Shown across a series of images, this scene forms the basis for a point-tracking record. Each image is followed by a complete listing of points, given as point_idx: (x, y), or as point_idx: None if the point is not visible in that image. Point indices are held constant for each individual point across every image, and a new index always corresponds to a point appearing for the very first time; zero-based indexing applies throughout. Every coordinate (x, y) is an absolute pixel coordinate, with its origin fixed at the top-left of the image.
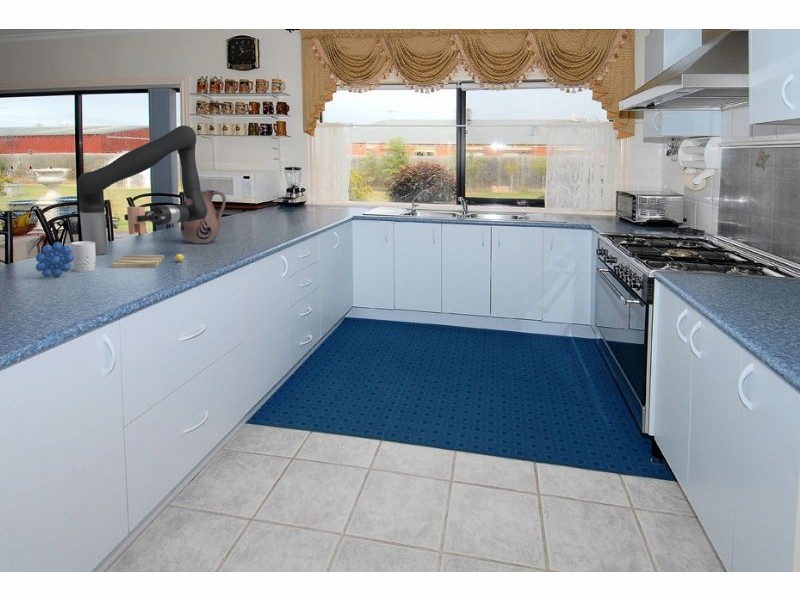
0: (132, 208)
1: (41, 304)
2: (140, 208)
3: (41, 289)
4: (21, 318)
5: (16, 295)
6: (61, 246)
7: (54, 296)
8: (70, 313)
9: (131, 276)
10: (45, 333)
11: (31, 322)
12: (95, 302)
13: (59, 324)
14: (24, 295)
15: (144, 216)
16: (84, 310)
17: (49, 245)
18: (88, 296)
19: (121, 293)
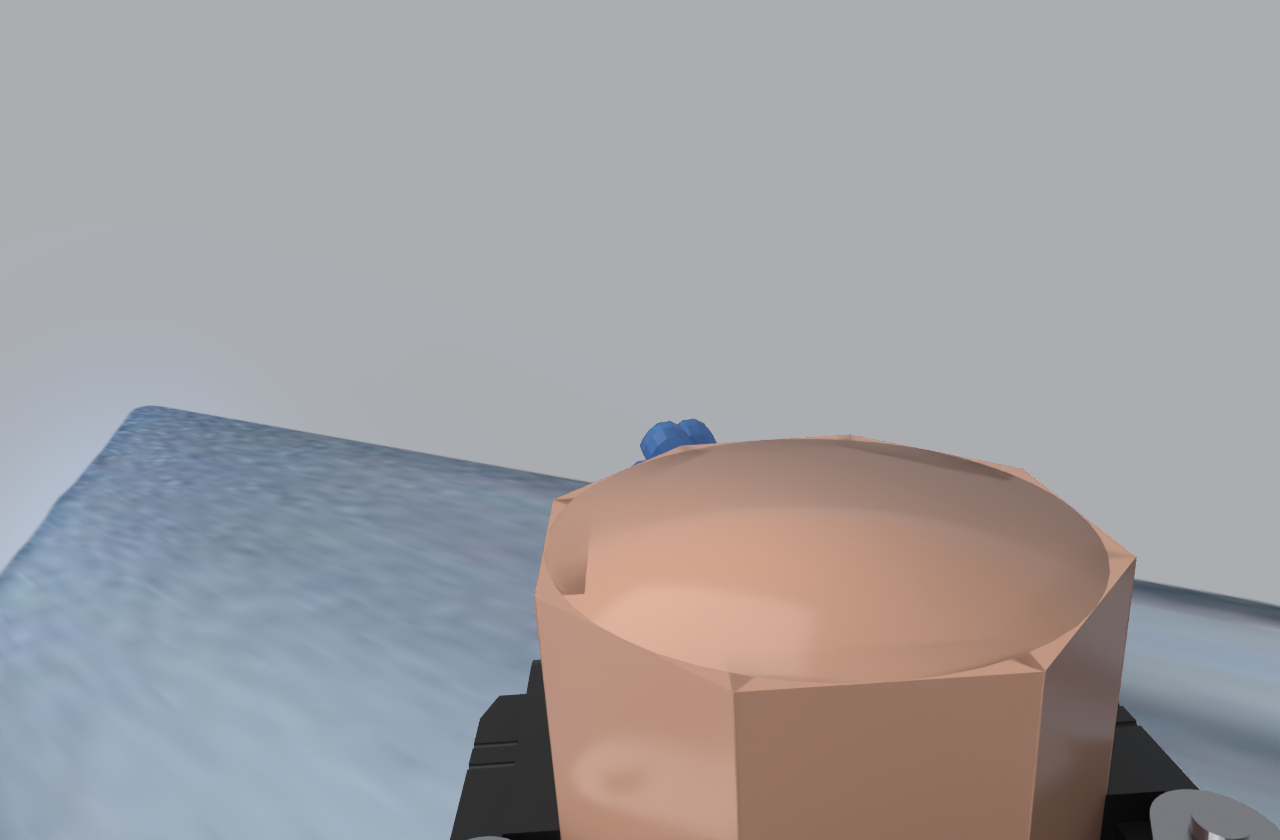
0: (675, 462)
1: (325, 478)
2: (550, 538)
3: (501, 522)
4: (273, 440)
5: (496, 479)
6: (646, 452)
7: (364, 511)
8: (169, 480)
9: (275, 829)
10: (136, 434)
11: (224, 440)
12: (157, 532)
13: (141, 453)
14: (472, 486)
15: (515, 813)
16: (143, 497)
17: (679, 424)
18: (236, 548)
19: (112, 609)
